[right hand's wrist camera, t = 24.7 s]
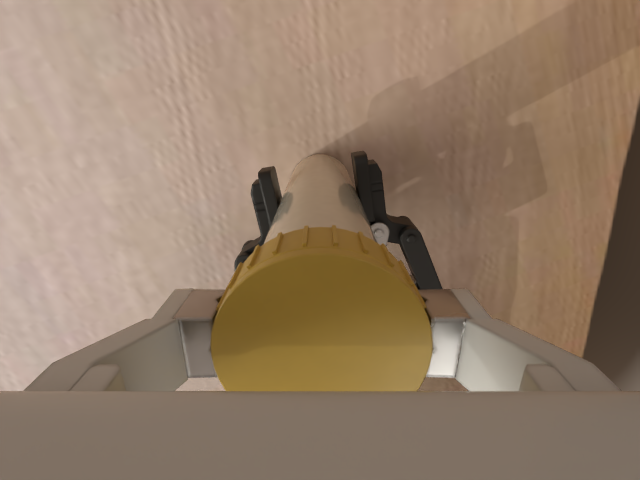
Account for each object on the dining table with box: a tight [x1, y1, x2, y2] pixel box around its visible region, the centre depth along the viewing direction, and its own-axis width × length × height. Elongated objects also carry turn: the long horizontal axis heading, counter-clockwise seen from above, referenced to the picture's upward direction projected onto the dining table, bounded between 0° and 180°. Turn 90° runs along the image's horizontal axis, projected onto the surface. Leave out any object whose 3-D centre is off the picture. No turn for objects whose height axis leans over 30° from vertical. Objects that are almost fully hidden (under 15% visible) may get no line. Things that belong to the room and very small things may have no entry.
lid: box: [210, 225, 433, 391], centre depth 9 cm, size 6×6×2 cm
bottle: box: [264, 154, 378, 244], centre depth 18 cm, size 5×5×18 cm
